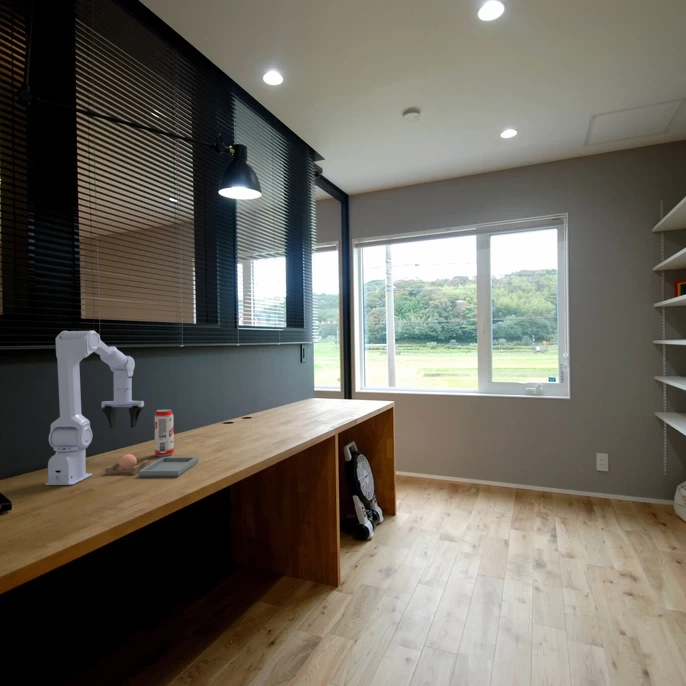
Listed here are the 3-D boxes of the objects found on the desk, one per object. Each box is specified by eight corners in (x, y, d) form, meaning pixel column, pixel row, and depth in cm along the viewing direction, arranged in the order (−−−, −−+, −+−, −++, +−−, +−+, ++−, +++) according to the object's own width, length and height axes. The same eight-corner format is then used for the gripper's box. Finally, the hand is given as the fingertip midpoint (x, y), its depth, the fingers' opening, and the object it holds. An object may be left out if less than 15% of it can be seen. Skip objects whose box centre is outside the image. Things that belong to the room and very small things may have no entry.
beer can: (153, 457, 148) (153, 411, 148) (156, 453, 154) (155, 409, 154) (172, 456, 150) (172, 411, 150) (174, 452, 156) (174, 408, 156)
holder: (134, 474, 129) (134, 468, 129) (105, 474, 129) (105, 468, 129) (148, 466, 138) (148, 460, 138) (121, 466, 138) (121, 460, 138)
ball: (131, 472, 131) (131, 456, 131) (115, 472, 131) (115, 456, 131) (139, 468, 136) (139, 452, 136) (124, 468, 136) (124, 452, 136)
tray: (178, 477, 126) (178, 470, 126) (138, 477, 126) (138, 471, 126) (198, 462, 142) (198, 456, 142) (162, 462, 142) (162, 456, 142)
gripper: (148, 388, 156) (148, 424, 156) (109, 388, 157) (109, 425, 157) (137, 390, 149) (138, 428, 149) (97, 390, 150) (98, 428, 149)
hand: (122, 427), depth 152 cm, fingers open, 7 cm apart
